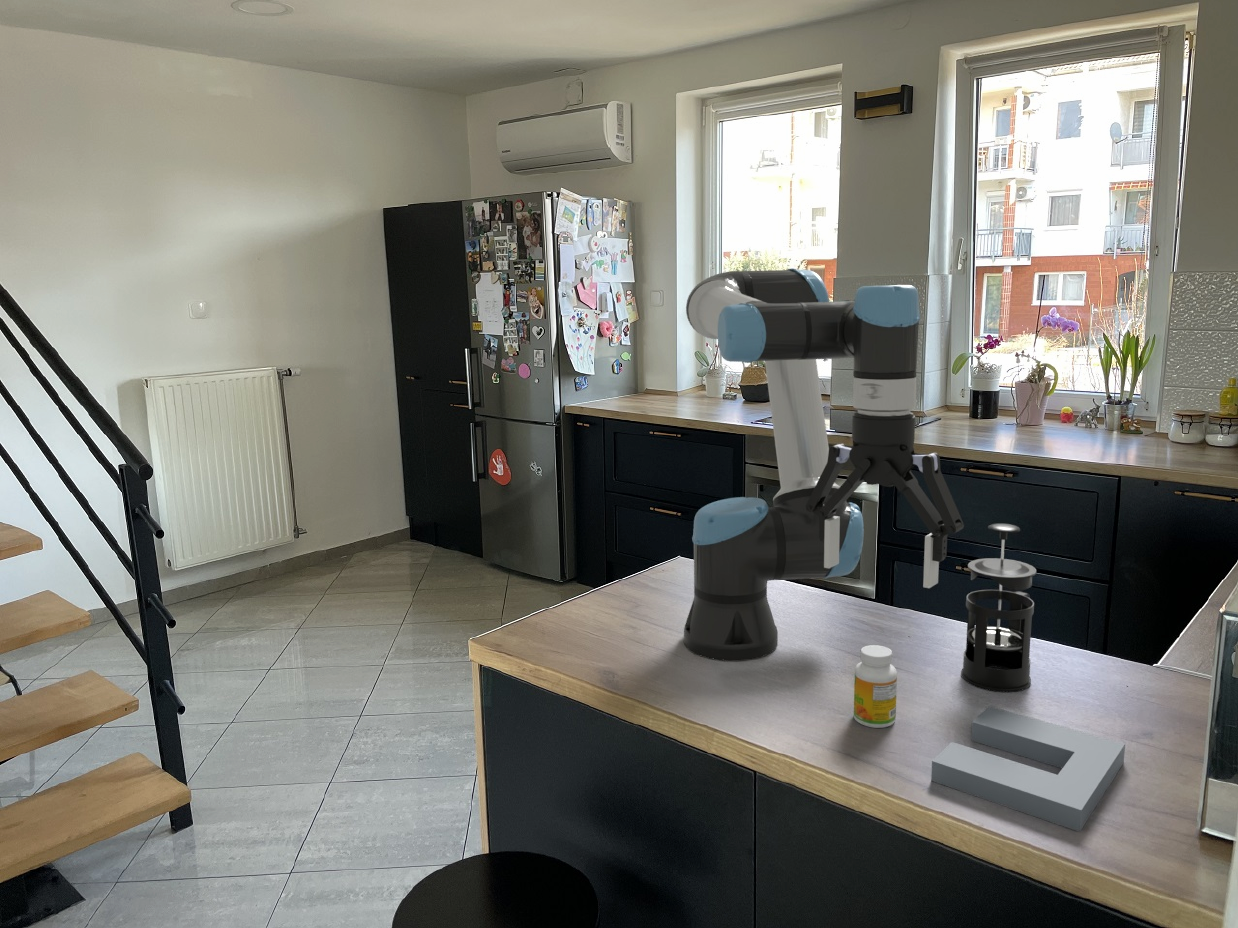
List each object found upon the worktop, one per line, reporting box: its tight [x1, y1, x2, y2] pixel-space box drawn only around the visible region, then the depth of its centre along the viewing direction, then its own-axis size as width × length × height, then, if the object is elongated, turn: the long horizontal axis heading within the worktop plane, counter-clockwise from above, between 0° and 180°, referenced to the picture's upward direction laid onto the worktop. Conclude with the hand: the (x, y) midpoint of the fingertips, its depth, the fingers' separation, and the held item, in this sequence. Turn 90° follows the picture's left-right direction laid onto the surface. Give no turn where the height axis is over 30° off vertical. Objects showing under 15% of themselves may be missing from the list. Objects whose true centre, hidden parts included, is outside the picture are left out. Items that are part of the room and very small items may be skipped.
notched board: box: [930, 705, 1126, 832], centre depth 107 cm, size 16×18×2 cm
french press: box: [960, 523, 1037, 693], centre depth 130 cm, size 12×9×23 cm
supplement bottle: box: [853, 644, 898, 729], centre depth 120 cm, size 5×5×10 cm
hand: (879, 575), depth 117 cm, fingers open, 13 cm apart
